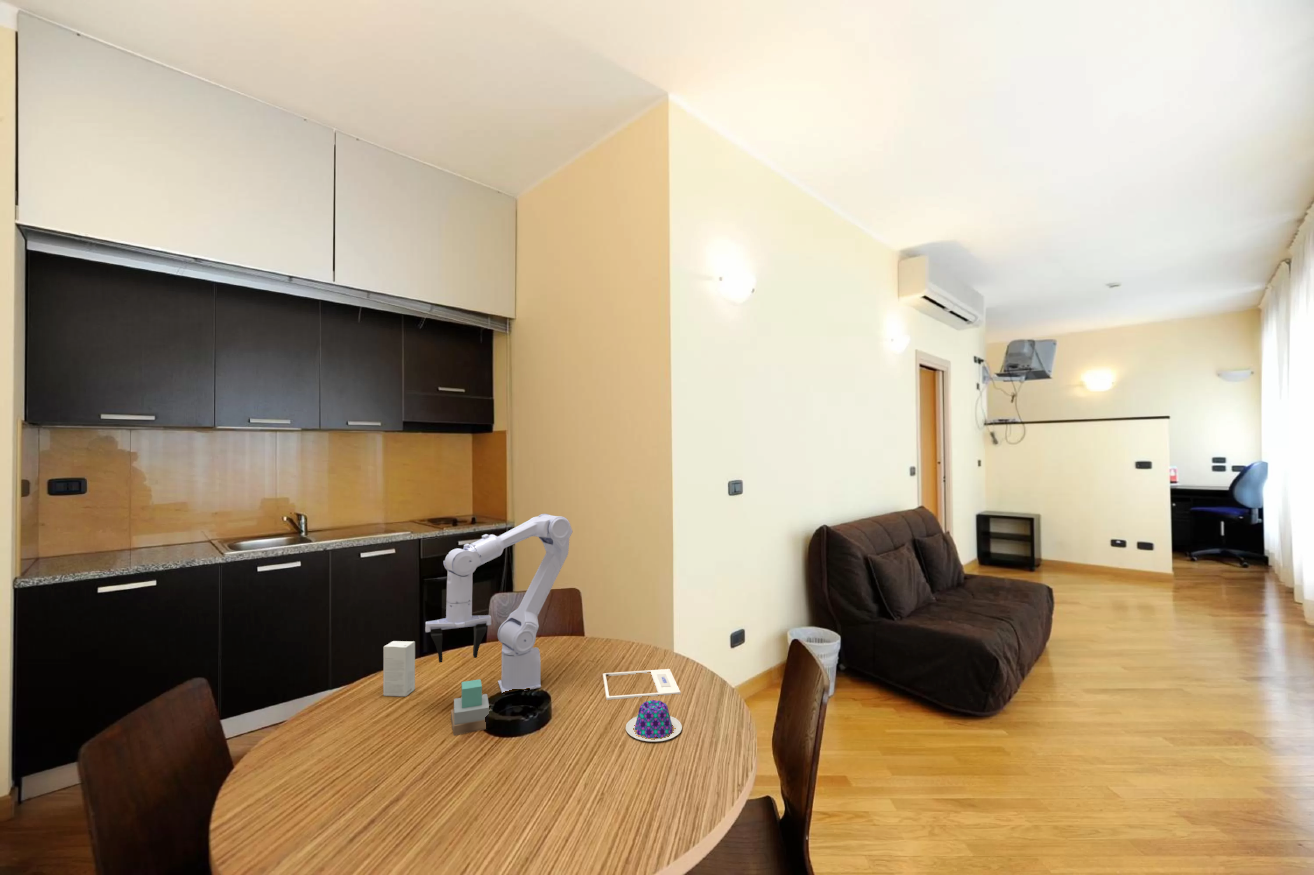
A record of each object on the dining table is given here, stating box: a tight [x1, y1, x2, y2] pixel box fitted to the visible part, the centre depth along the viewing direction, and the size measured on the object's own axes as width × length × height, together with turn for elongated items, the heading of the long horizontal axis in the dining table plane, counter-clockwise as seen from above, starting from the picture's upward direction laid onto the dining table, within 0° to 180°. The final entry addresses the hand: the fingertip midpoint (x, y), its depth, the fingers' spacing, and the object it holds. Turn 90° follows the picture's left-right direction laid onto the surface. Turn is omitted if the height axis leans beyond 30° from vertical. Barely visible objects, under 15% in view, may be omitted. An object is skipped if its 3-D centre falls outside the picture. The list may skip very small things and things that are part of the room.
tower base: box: [450, 709, 487, 737], centre depth 120 cm, size 8×8×2 cm
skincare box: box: [382, 640, 416, 697], centre depth 135 cm, size 6×4×12 cm
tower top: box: [453, 693, 490, 725], centre depth 119 cm, size 7×7×2 cm
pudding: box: [625, 699, 683, 742], centre depth 117 cm, size 12×12×5 cm
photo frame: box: [602, 668, 681, 701], centre depth 139 cm, size 15×1×18 cm
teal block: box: [460, 678, 483, 708], centre depth 120 cm, size 4×4×4 cm
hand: (457, 658), depth 129 cm, fingers open, 7 cm apart
